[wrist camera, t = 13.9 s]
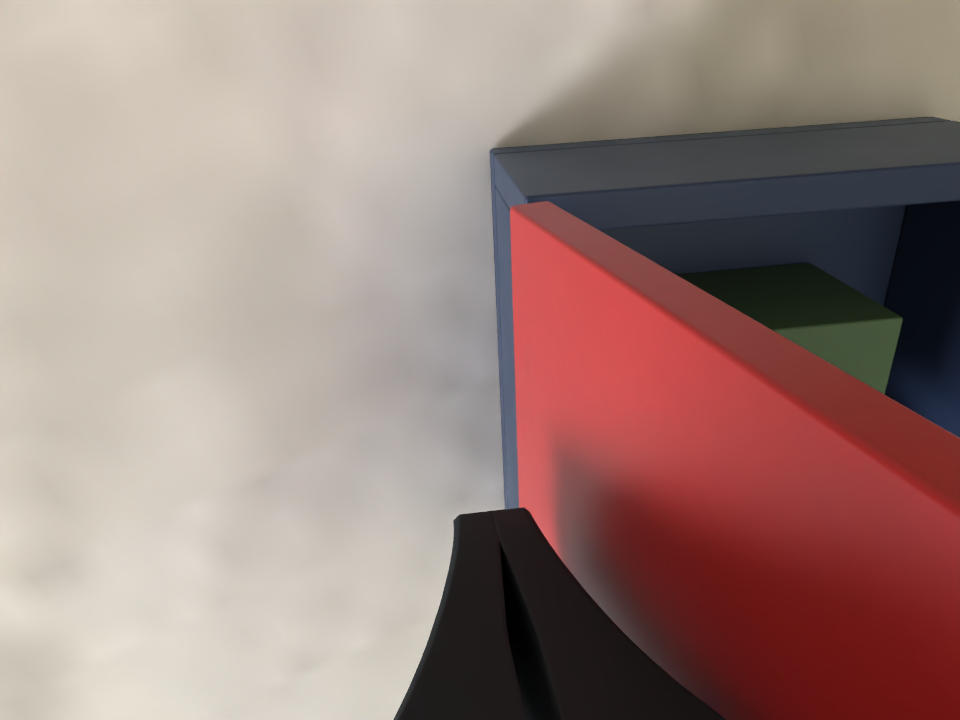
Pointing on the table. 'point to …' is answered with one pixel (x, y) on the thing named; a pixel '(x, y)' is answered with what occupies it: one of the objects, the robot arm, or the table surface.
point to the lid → (731, 490)
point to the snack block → (813, 315)
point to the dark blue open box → (767, 227)
